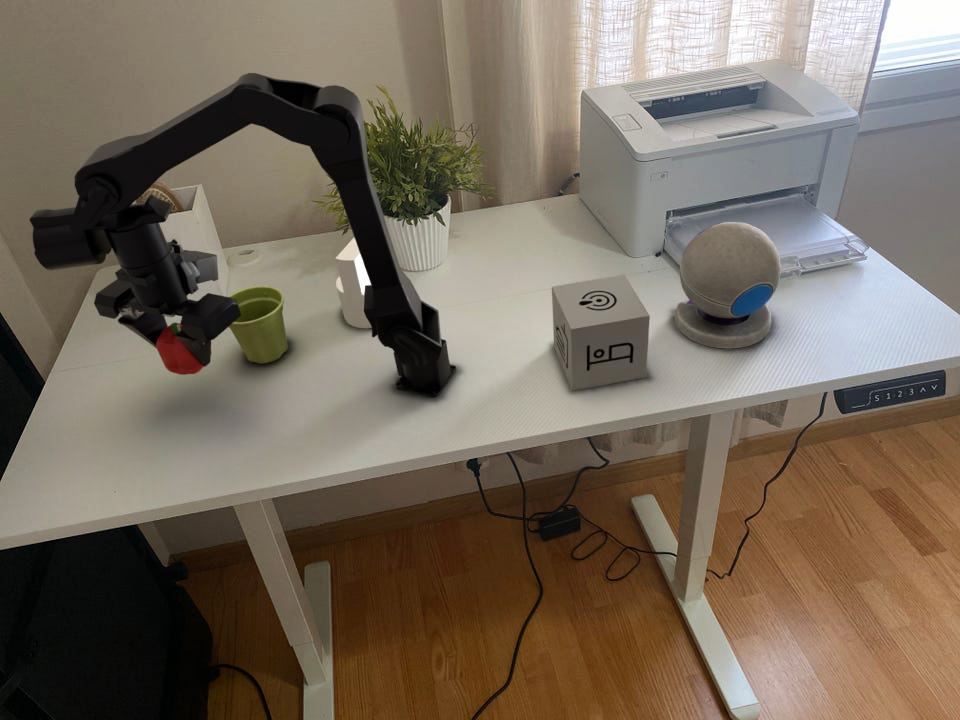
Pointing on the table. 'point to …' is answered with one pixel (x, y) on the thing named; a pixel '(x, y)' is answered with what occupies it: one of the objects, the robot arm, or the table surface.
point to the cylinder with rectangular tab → (352, 285)
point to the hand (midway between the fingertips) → (189, 360)
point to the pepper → (176, 352)
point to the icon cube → (600, 331)
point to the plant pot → (260, 323)
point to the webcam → (728, 285)
